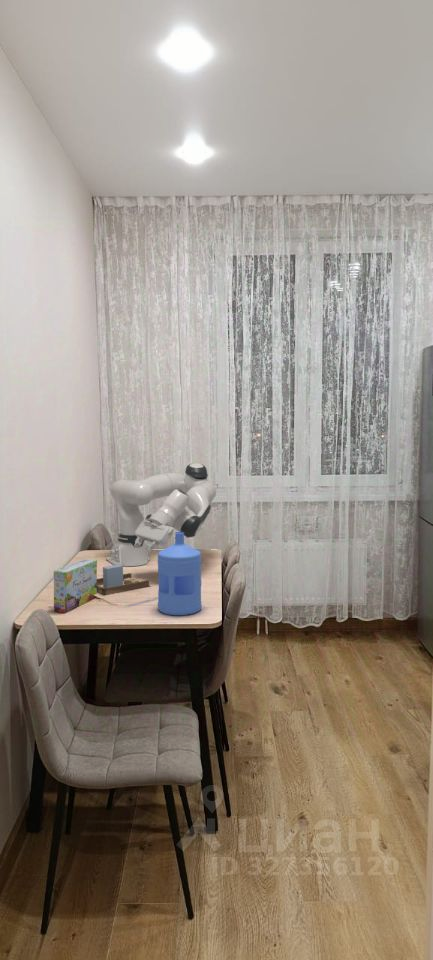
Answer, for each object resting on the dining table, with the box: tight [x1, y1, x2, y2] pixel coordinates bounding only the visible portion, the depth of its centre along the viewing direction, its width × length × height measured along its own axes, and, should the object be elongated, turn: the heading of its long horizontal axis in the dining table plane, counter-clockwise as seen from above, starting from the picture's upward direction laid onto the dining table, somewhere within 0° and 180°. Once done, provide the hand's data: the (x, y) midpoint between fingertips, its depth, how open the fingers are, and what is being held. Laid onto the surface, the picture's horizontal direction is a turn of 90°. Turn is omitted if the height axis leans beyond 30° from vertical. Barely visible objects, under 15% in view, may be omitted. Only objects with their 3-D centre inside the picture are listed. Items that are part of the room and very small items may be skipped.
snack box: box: [53, 558, 98, 614], centre depth 236 cm, size 21×6×15 cm, turn 160°
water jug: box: [157, 531, 202, 616], centre depth 229 cm, size 16×16×28 cm
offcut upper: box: [123, 578, 140, 585], centre depth 258 cm, size 6×3×2 cm, turn 49°
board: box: [102, 564, 124, 588], centre depth 253 cm, size 4×7×10 cm, turn 127°
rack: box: [97, 572, 152, 600], centre depth 255 cm, size 15×21×4 cm
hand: (141, 549), depth 260 cm, fingers open, 8 cm apart
